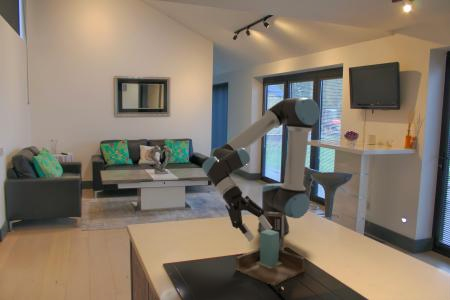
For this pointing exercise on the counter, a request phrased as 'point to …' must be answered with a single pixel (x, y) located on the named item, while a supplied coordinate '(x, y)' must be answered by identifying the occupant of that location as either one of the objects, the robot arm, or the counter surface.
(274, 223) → the coffee box
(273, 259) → the teal block
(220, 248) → the counter surface
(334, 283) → the counter surface
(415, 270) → the counter surface
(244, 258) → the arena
